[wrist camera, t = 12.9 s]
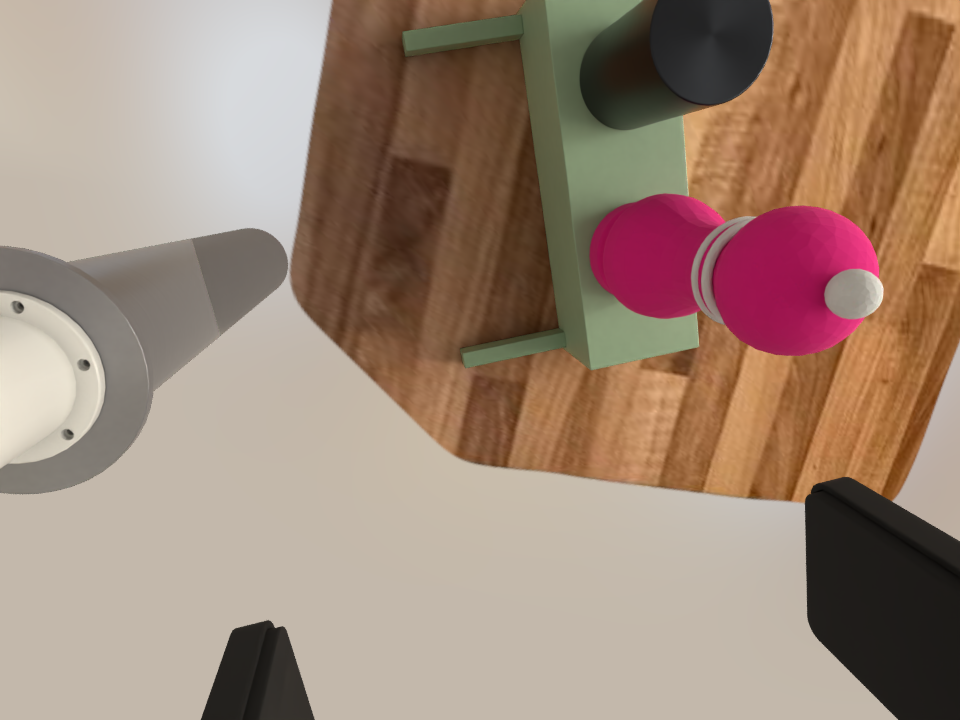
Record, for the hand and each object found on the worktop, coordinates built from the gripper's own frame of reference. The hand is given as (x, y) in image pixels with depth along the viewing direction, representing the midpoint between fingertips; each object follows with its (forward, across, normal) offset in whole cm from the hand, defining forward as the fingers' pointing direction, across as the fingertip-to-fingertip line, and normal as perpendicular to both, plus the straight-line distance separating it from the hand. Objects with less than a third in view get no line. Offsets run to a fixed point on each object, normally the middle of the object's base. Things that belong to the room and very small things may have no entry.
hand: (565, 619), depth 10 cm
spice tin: (+29, -14, -12) cm, 35 cm away
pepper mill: (+30, -14, -2) cm, 33 cm away
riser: (+36, -10, -6) cm, 38 cm away
